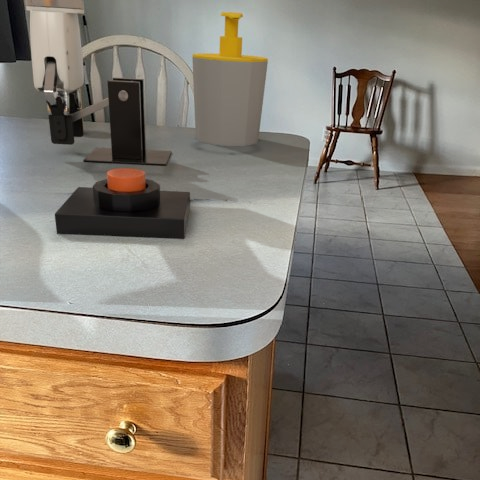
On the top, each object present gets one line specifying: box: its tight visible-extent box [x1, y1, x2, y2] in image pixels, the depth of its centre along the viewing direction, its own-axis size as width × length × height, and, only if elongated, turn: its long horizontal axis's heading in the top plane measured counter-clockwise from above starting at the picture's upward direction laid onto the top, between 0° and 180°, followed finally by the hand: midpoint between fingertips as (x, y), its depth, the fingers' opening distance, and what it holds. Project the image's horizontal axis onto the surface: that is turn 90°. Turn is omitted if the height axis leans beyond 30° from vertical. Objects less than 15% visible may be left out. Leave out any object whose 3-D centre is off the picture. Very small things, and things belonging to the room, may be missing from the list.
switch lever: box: [69, 97, 109, 122], centre depth 79 cm, size 12×5×2 cm, turn 92°
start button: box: [106, 167, 146, 192], centre depth 58 cm, size 4×4×2 cm
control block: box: [54, 178, 191, 240], centre depth 59 cm, size 13×10×4 cm
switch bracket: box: [82, 77, 172, 167], centre depth 81 cm, size 12×9×12 cm
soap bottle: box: [191, 11, 269, 147], centre depth 95 cm, size 13×13×21 cm
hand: (68, 138), depth 81 cm, fingers closed on switch lever, 5 cm apart
